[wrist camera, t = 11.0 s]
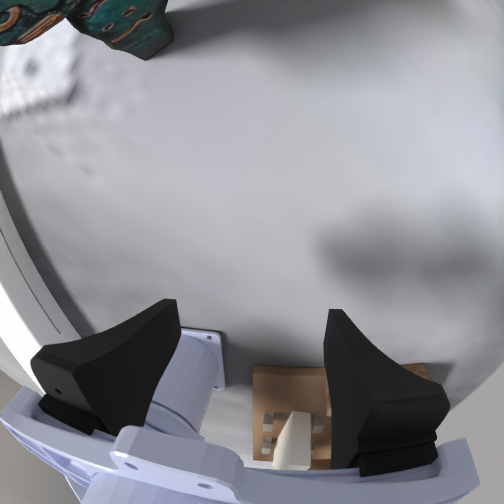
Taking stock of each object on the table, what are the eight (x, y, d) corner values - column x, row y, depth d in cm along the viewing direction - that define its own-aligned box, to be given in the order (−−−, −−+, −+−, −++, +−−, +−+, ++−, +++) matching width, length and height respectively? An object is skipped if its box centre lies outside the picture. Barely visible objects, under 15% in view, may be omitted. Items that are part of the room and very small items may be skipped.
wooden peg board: (254, 453, 33) (249, 482, 29) (254, 364, 26) (246, 405, 21) (372, 452, 31) (375, 479, 26) (423, 362, 24) (438, 397, 19)
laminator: (-34, 185, 24) (-62, 195, 18) (-10, 133, 21) (-45, 140, 15) (65, 370, 33) (45, 395, 28) (107, 359, 30) (83, 392, 24)
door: (268, 441, 30) (263, 487, 23) (285, 409, 27) (281, 463, 20) (290, 444, 29) (286, 489, 23) (310, 412, 26) (310, 466, 20)
